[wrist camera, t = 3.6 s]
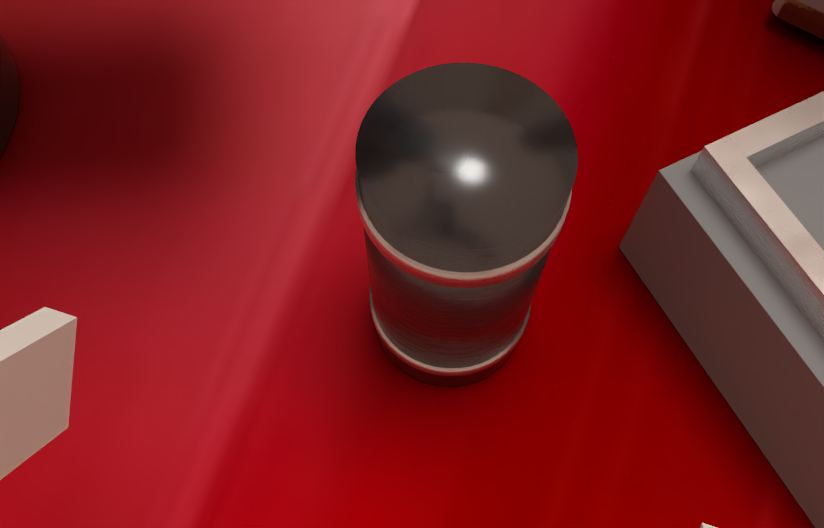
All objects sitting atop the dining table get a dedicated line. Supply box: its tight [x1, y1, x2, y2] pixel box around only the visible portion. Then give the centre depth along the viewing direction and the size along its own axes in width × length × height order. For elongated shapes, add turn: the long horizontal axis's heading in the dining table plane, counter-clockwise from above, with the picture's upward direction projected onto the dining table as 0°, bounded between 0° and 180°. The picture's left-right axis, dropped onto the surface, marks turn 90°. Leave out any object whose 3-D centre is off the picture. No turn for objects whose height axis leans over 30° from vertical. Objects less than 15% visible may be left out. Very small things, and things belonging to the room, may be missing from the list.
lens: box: [355, 63, 578, 387], centre depth 26 cm, size 6×6×12 cm
